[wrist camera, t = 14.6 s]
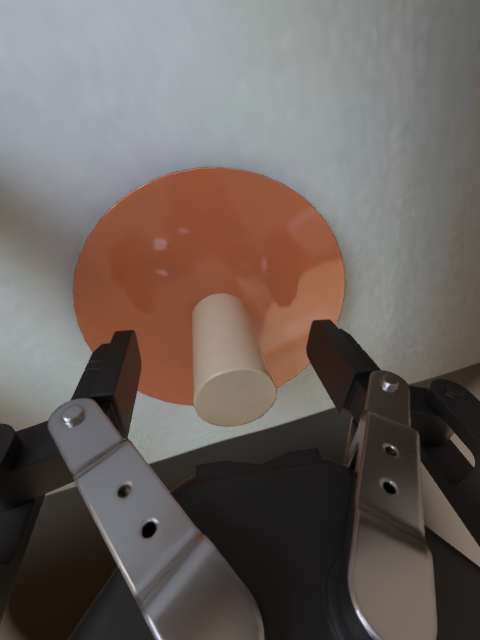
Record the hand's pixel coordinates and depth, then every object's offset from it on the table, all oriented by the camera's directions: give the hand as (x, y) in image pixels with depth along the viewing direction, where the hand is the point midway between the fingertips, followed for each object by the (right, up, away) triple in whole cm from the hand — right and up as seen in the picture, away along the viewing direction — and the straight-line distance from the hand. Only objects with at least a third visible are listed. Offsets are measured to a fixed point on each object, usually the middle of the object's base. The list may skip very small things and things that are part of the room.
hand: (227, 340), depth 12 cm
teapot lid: (0, +1, +2) cm, 3 cm away
